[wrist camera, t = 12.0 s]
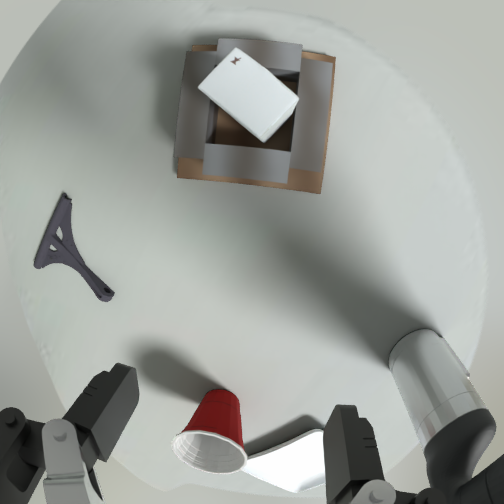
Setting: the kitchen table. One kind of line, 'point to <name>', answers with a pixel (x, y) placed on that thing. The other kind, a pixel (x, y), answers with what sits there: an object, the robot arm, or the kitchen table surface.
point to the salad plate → (291, 463)
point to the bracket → (68, 250)
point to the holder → (244, 142)
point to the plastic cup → (213, 436)
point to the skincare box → (250, 94)
